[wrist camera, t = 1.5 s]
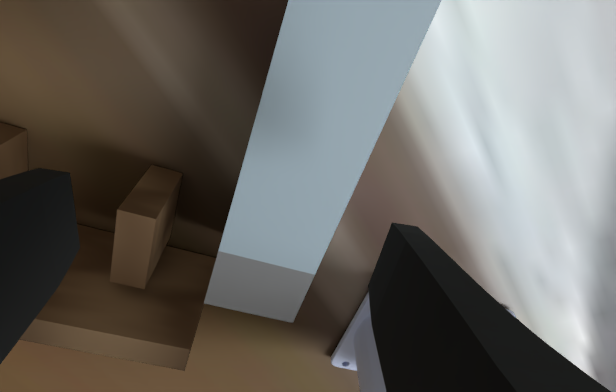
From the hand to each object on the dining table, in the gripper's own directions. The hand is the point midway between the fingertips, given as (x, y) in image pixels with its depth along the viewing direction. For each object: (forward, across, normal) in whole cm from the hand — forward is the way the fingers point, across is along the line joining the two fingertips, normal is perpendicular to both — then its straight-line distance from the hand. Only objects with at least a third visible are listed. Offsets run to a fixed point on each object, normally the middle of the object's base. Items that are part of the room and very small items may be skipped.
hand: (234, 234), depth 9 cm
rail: (+10, -2, 0) cm, 10 cm away
